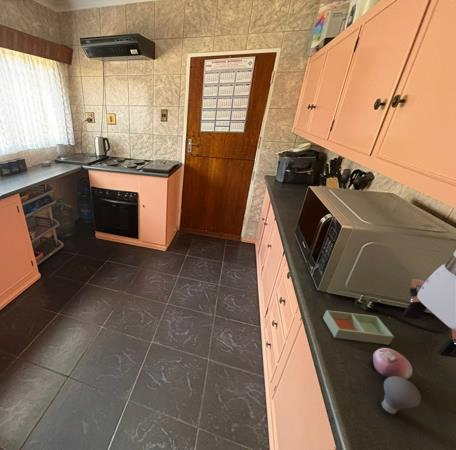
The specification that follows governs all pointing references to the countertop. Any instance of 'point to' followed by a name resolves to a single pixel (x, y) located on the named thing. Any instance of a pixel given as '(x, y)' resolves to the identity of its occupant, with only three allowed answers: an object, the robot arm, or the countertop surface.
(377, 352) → the onion
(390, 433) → the countertop surface
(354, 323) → the tray
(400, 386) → the light bulb
